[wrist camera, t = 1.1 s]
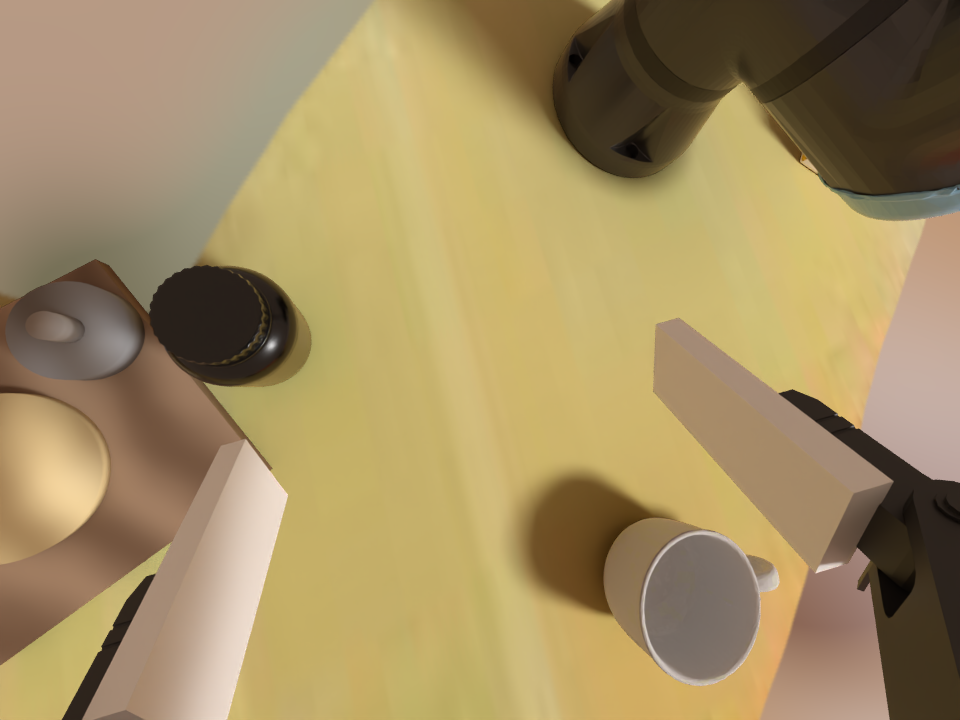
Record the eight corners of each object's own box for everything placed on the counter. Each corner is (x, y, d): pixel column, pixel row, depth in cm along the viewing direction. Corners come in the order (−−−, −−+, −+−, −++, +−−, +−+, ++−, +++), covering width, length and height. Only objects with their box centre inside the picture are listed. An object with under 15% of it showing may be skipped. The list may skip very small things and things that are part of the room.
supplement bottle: (235, 402, 30) (153, 410, 18) (198, 315, 30) (89, 268, 18) (328, 366, 32) (306, 353, 20) (293, 284, 31) (250, 224, 20)
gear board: (109, 265, 28) (50, 237, 23) (272, 468, 30) (252, 485, 25) (-201, 427, 24) (-364, 438, 18) (14, 654, 26) (-78, 724, 20)
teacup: (584, 631, 36) (643, 697, 28) (588, 505, 37) (646, 535, 29) (712, 616, 40) (796, 672, 32) (713, 502, 41) (794, 529, 33)
